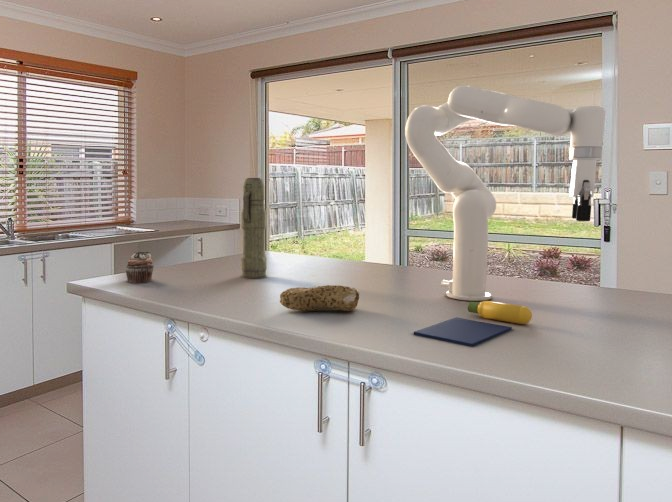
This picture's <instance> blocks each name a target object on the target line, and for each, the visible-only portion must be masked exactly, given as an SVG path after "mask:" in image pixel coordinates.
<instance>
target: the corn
mask: <svg viewBox="0 0 672 502" xmlns="http://www.w3.org/2000/svg"><path fill="white" fill-rule="evenodd" d="M467 311H468V313H471V314H477V315H479V316H480V317H481V318H483V319H488V320H494V321H500V322H506V323H511V324H518V325H526V324H528V323H530V322H531V321H532V318H533V312H532V310H531V309H530V308H529V307H527V306H525V305H518V304H513V303H506V302H498V301H491V300H483V301H479V302H478V301H469V302H468V304H467Z"/></svg>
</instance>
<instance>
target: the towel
mask: <svg viewBox="0 0 672 502" xmlns="http://www.w3.org/2000/svg"><path fill="white" fill-rule="evenodd" d="M512 329H513V327H512V326H508V325H504V324H503V325H501V324H496V323H491V322H484V321H479V320H474V319H468V318H462V317H453V318H451V319H448V320H445V321H442V322H439V323H436V324H433V325H430V326H427V327H424V328H421V329H418V330H415V331H413V335H414V336H420V337H423V338H430V339H434V340H438V341H443V342H448V343H453V344H457V345H458V344H459V345H463V346H468V347H474V346H477V345H480V344H482V343H484V342H486V341H488V340H491V339H493V338H495V337H497V336H500V335H503V334H505V333H507V332H509V331H512Z"/></svg>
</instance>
